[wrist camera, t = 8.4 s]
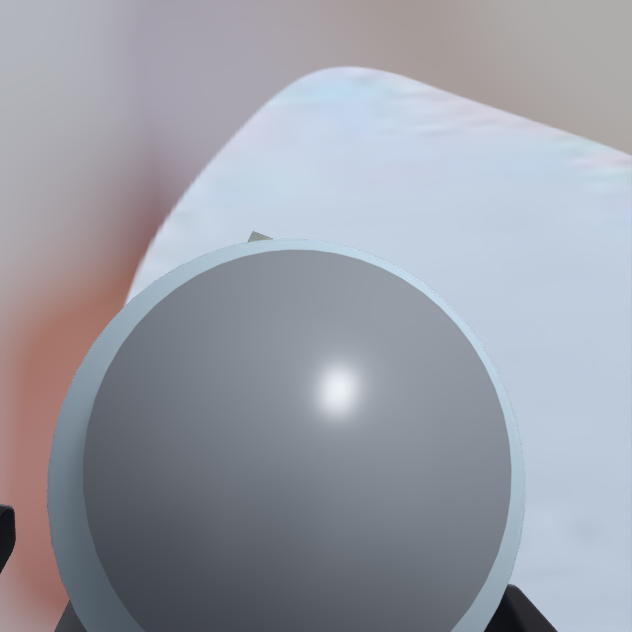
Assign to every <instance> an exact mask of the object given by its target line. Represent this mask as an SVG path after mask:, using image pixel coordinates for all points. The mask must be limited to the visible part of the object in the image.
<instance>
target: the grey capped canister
mask: <svg viewBox="0 0 632 632" xmlns="http://www.w3.org/2000/svg"><path fill="white" fill-rule="evenodd" d="M47 509H48V517H49V525H50V534H51V542H52V547H53V550H54V554H55V558H56V562H57V565H58V569H59V573H60V577H61V580H62V582H63V585H64V587H65V589H66V592H67V594H68V596H69V598H70V601H71V603H72V606H73V608H74V610H75V612H76V615H77V616H78V618H79V619H80V621H81V623H82V624H83V626H84V627H85V629H86V631H87V632H484V630H485V628H486V627H487V625H488V623H489V622H490V620H491V618H492V616H493V615H494V613H495V611H496V609H497V608H498V606H499V603H500V601H501V599H502V596H503V594H504V591H505V589H506V587H507V584H508V582H509V579H510V577H511V574H512V571H513V567H514V563H515V560H516V556H517V552H518V549H519V545H520V540H521V533H522V526H523V519H524V512H525V470H524V460H523V449H522V444H521V439H520V435H519V430H518V425H517V421H516V417H515V414H514V411H513V408H512V405H511V402H510V399H509V396H508V393H507V391H506V389H505V386H504V384H503V382H502V380H501V378H500V376H499V373H498V371H497V369H496V367H495V365H494V363H493V362H492V360H491V358H490V357H489V355H488V354H487V352H486V350H485V349H484V347H483V345H482V344H481V342H480V341H479V339H478V338H477V337H476V336H475V334H474V333H473V332H472V330H471V329H470V328H469V326H468V325H467V324H466V322H465V321H464V320H463V319H462V318H461V317H460V316H459V315H458V314H457V313H456V312H455V311H454V310H453V309H452V308H451V306H450V305H449V304H448V303H447V302H446V301H445V300H443V299H442V298H441V297H440V296H439V295H437V294H436V293H435V292H434V291H433V290H431V289H430V288H429V287H428V286H427V285H425V284H424V283H422V282H421V281H419V280H418V279H416V278H415V277H413V276H412V275H410V274H409V273H407V272H406V271H404V270H402V269H400V268H399V267H397V266H395V265H393V264H391V263H389V262H387V261H385V260H383V259H381V258H378V257H376V256H373V255H371V254H368V253H365V252H363V251H360V250H358V249H354V248H350V247H346V246H342V245H338V244H334V243H329V242H322V241H315V240H308V239H273V240H261V241H253V242H248V243H243V244H238V245H233V246H229V247H226V248H223V249H220V250H217V251H214V252H211V253H208V254H205V255H202V256H200V257H198V258H196V259H194V260H192V261H189V262H187V263H185V264H183V265H181V266H179V267H177V268H175V269H174V270H172V271H171V272H169V273H167V274H166V275H164V276H162V277H161V278H159V279H158V280H156V281H154V282H153V283H152V284H151V285H149V286H148V287H147V288H146V289H144V290H143V291H142V292H141V293H139V294H138V295H137V296H136V297H134V298H133V299H132V300H131V301H130V302H129V303H128V304H127V305H126V306H125V307H124V308H123V309H122V310H121V311H120V312H119V313H118V314H117V315H116V316H115V317H114V318H113V319H112V320H111V321H110V323H109V324H108V325H107V327H106V328H105V329H104V331H103V332H102V333H101V334H100V336H99V337H98V338H97V339H96V341H95V342H94V343H93V345H92V346H91V348H90V350H89V351H88V353H87V355H86V356H85V358H84V360H83V361H82V363H81V365H80V367H79V368H78V370H77V372H76V373H75V376H74V378H73V380H72V383H71V385H70V387H69V389H68V392H67V394H66V396H65V399H64V401H63V404H62V407H61V410H60V414H59V417H58V421H57V424H56V428H55V431H54V435H53V440H52V447H51V453H50V459H49V467H48V490H47Z"/></svg>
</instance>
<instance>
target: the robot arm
mask: <svg viewBox="0 0 632 632" xmlns="http://www.w3.org/2000/svg"><path fill="white" fill-rule="evenodd" d="M15 541H16V532H15V513H14V509H13V508H12V506H9V505H3V504H0V573H1V571H2V569H3V568H4V566H5V564H6V562H7V560H8V559H9V557H10V555H11V553H12V551H13V548H14V545H15ZM484 632H558V631H557V630H556V629H555V628H554V627H553V626H552V625H551V624H550V622H549V621H548V620H547V619H546V618H545V617H544V616H543V615H542V614H541V612H540V611H539V610H538V609H537V608H536V607H535V606H534V605H533V603H532V602H531V601H530V600H529V599H528V598H527V597H526V596H525V595H524V593H523V592H522V591H521V590H520V589H519V588H518V587H516V586H515V585H512V584H507V587H506V589H505V591H504V594H503V596H502V599H501V601H500V603H499V606H498V608H497V609H496V611H495V613H494V615H493V616H492V618H491V620H490V622H489V623H488V625H487V627H486V628H485V630H484Z"/></svg>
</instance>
